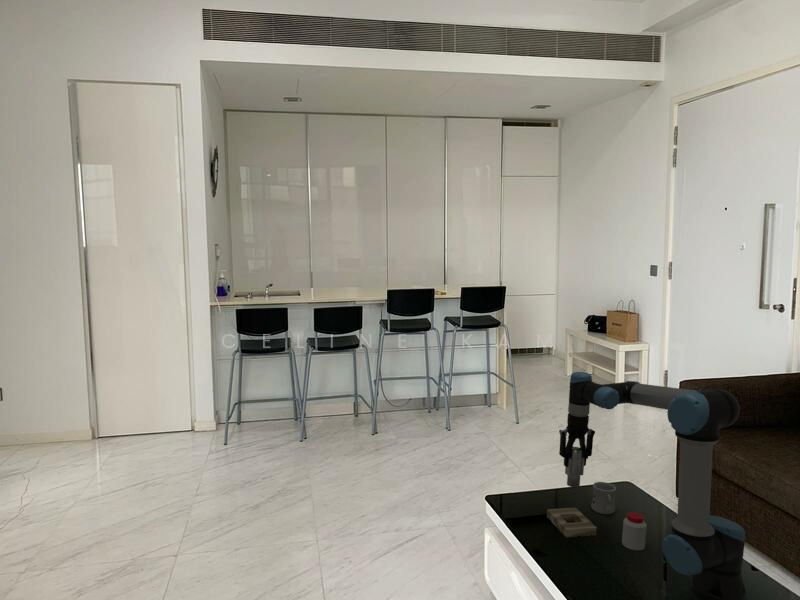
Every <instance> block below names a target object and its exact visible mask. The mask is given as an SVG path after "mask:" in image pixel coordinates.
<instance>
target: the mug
mask: <svg viewBox="0 0 800 600" xmlns="http://www.w3.org/2000/svg"><path fill="white" fill-rule="evenodd" d="M616 491H617V487H616V485H614V484H612V483H610V482H605V481H595V482H594V483H593V484H592V498H591V499H592V500H591V505H590V507H591V510H593V511H594V512H596V513H598V514H601V515H612V514H614V513H615V511H616V503H615V501H616Z"/></svg>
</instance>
